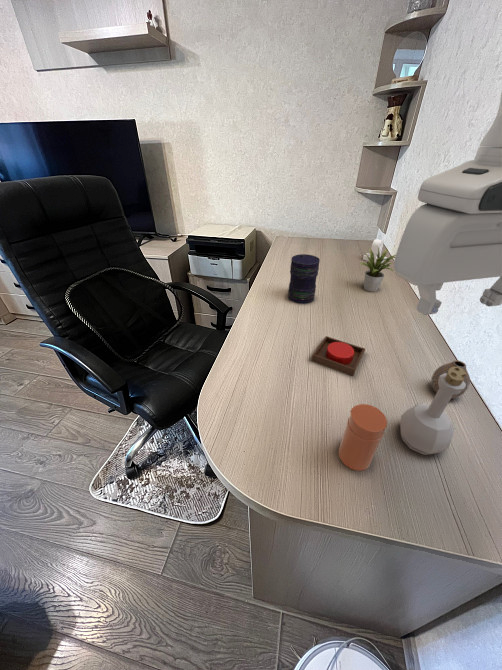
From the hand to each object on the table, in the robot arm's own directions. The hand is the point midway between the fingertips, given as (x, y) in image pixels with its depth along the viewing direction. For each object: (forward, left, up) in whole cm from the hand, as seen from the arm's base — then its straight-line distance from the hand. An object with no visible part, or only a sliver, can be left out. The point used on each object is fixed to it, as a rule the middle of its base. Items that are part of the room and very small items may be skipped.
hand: (458, 308), depth 35 cm
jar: (+5, +5, -31) cm, 32 cm away
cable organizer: (+26, -105, -31) cm, 113 cm away
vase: (-8, -23, -31) cm, 40 cm away
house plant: (+19, -70, -31) cm, 79 cm away
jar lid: (+17, -22, -28) cm, 39 cm away
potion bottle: (-5, -6, -31) cm, 32 cm away
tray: (+17, -22, -31) cm, 42 cm away
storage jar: (+40, -49, -31) cm, 71 cm away
